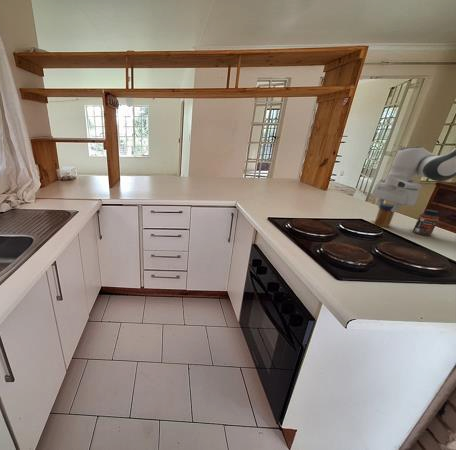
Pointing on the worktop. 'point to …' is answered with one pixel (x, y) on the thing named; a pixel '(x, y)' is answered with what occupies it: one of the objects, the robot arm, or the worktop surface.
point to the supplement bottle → (426, 223)
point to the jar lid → (386, 206)
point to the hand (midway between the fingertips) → (386, 209)
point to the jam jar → (384, 218)
